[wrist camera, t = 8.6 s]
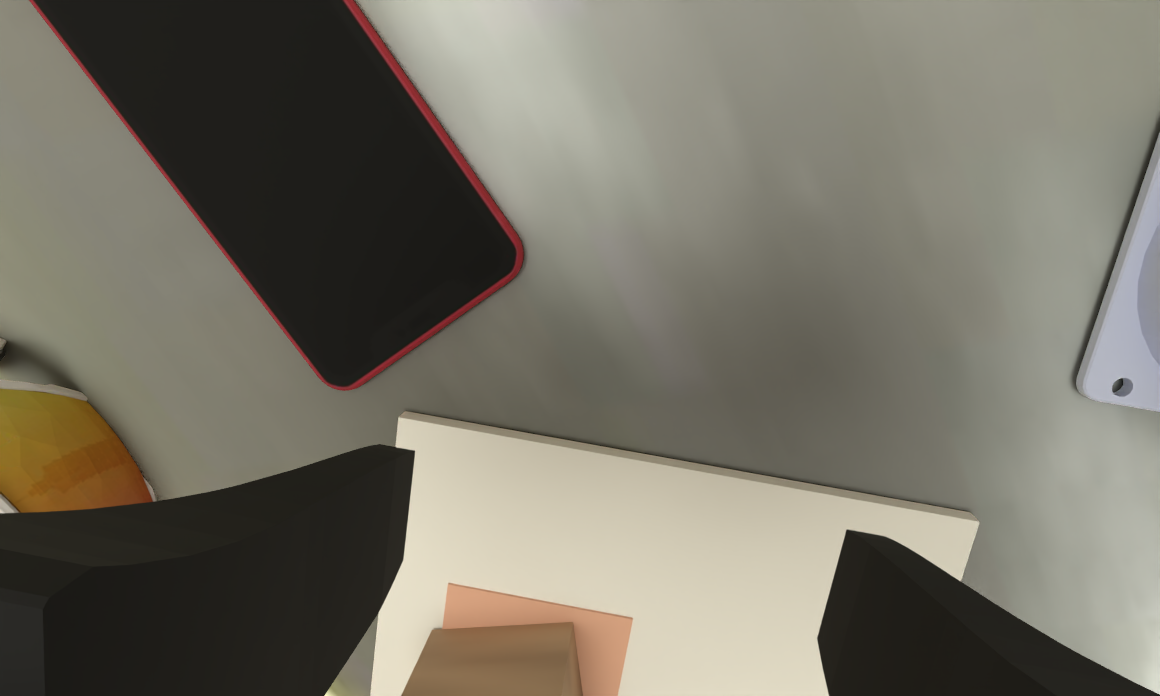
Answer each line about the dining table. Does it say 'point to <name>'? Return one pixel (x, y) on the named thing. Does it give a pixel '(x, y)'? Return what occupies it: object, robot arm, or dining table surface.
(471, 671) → the card box
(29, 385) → the sunglasses
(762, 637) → the mat
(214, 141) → the smartphone
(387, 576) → the robot arm
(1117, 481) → the dining table surface
